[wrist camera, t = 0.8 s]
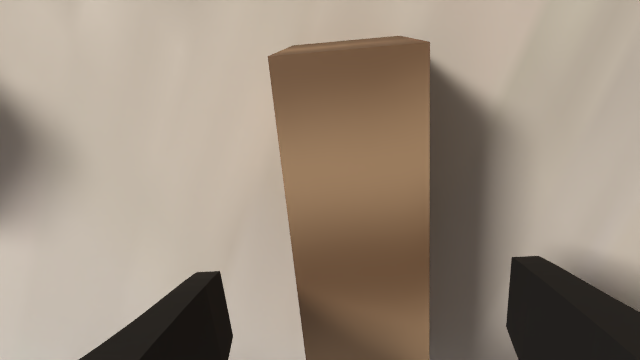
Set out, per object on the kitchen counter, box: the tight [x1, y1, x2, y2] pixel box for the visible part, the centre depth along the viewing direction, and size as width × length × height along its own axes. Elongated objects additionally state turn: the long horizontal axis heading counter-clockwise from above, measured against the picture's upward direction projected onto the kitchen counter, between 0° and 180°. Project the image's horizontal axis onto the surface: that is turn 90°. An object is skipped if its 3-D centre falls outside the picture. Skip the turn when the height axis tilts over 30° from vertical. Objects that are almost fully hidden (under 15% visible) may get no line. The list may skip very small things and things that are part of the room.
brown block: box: [268, 36, 430, 360], centre depth 14 cm, size 13×4×5 cm, turn 5°
